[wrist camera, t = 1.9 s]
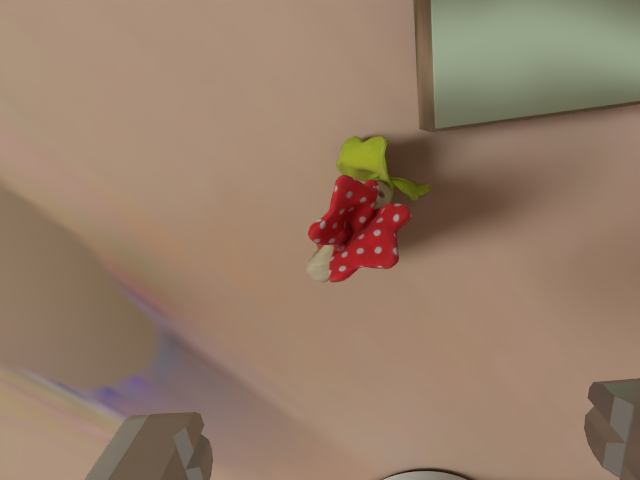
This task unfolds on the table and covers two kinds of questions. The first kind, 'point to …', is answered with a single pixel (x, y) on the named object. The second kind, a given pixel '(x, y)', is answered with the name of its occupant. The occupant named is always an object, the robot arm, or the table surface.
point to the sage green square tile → (523, 59)
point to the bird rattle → (361, 214)
